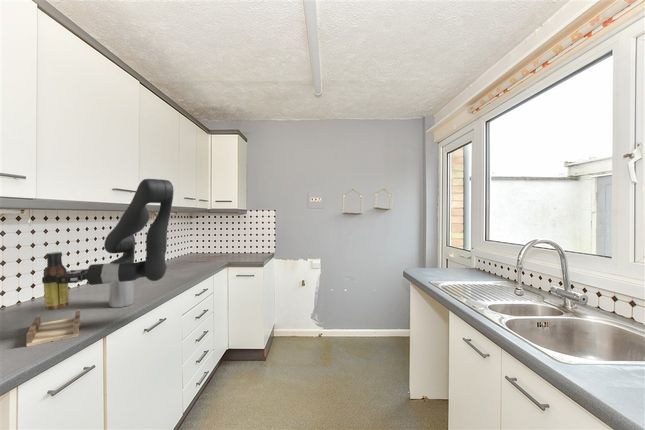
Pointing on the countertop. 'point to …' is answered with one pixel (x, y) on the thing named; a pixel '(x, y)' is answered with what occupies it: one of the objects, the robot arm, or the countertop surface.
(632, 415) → the countertop surface
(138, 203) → the robot arm
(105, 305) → the countertop surface
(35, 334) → the track
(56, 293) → the sauce bottle
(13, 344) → the countertop surface
